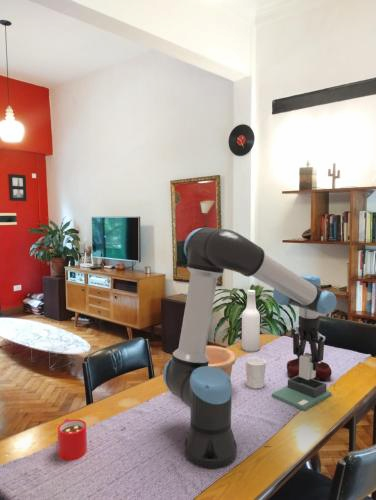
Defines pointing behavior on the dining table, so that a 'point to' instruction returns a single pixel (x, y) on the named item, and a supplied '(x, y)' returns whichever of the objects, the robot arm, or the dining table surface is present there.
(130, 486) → the dining table surface
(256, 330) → the alcohol
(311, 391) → the board
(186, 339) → the robot arm
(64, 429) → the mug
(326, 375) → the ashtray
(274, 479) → the dining table surface
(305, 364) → the plug
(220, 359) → the pottery
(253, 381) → the white cup
